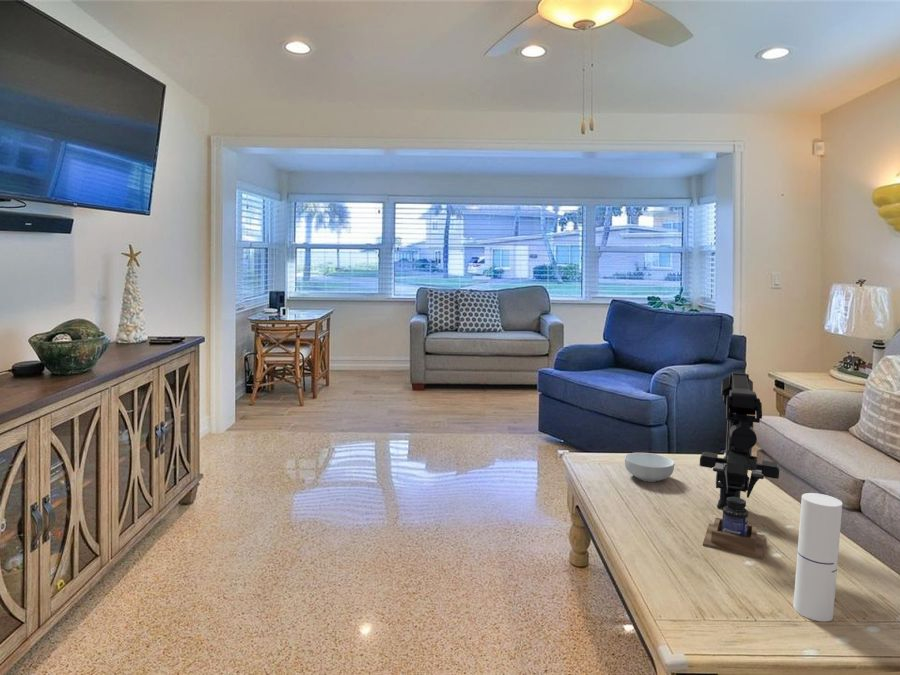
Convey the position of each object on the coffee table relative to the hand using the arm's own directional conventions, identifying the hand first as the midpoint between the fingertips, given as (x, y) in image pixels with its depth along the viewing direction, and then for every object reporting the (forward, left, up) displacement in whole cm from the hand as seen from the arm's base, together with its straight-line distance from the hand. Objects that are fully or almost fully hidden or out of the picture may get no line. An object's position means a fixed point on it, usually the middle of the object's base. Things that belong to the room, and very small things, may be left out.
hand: (736, 495), depth 150 cm
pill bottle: (0, 0, -13) cm, 13 cm away
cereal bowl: (-38, -30, -13) cm, 50 cm away
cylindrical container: (+27, +17, -13) cm, 35 cm away
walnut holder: (0, 0, -13) cm, 13 cm away
